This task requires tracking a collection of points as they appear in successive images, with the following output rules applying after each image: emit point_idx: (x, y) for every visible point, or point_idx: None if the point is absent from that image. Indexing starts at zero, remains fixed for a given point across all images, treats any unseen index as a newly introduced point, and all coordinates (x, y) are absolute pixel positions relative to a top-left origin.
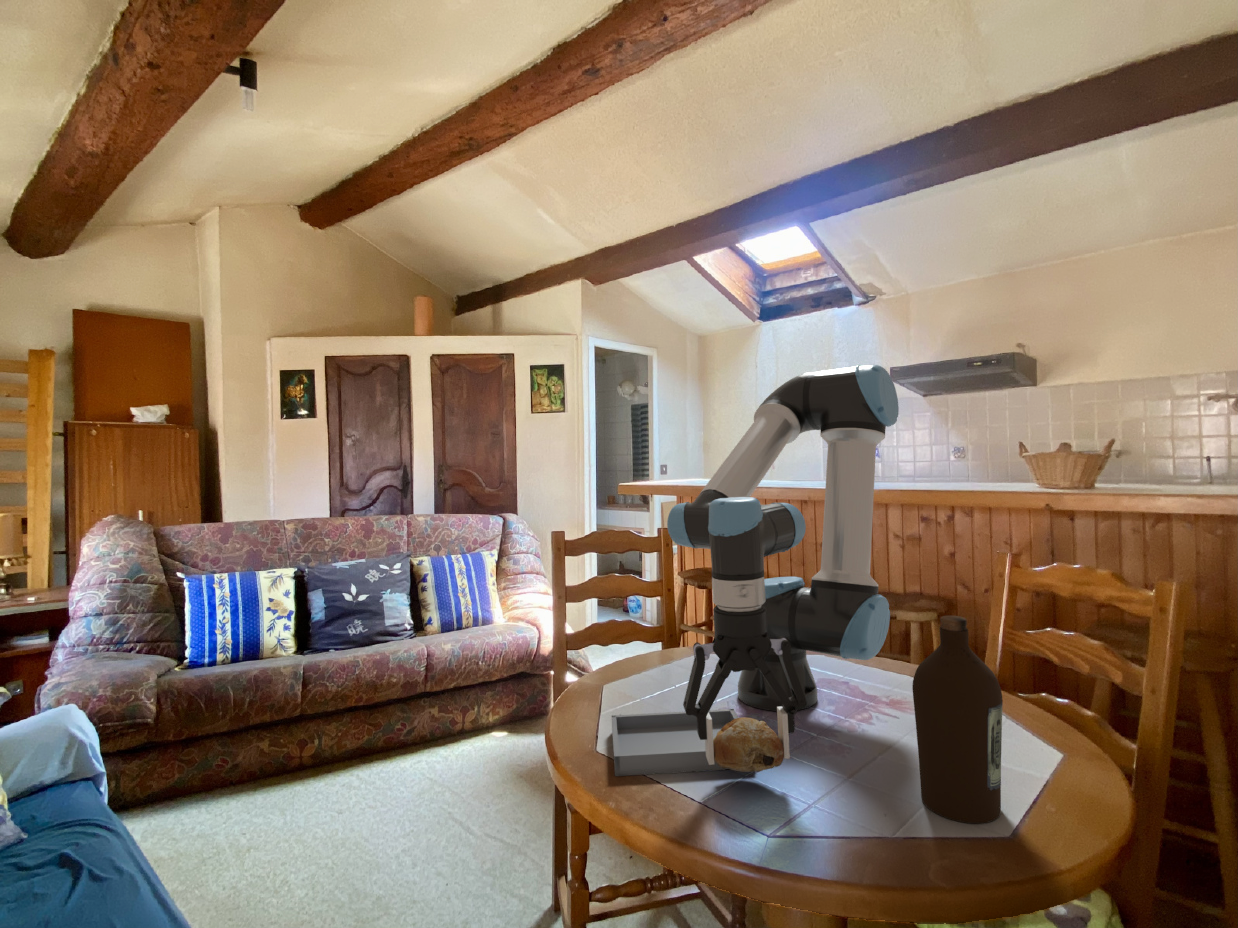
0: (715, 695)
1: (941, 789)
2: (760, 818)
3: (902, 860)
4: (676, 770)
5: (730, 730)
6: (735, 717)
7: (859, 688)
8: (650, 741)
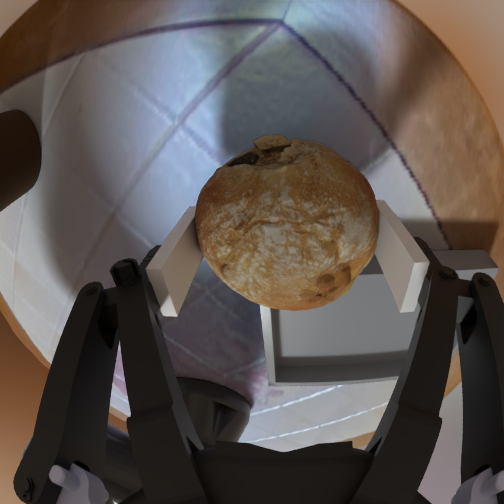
0: (427, 329)
1: (3, 125)
2: (286, 76)
3: (91, 3)
4: None
5: (349, 234)
6: (271, 368)
7: (120, 390)
8: (412, 330)
